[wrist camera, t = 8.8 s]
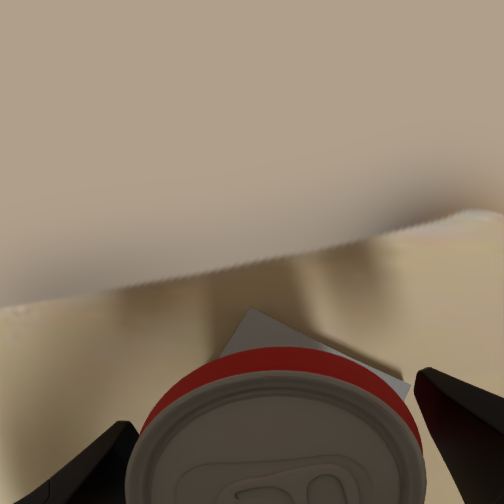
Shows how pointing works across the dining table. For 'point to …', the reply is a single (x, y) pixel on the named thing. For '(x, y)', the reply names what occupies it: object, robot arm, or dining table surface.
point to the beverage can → (278, 435)
